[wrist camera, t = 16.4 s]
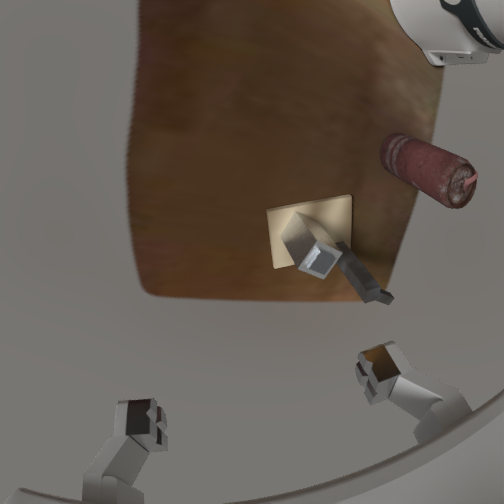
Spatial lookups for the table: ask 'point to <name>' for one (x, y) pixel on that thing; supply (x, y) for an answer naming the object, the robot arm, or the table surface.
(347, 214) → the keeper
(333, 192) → the table surface
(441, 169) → the can
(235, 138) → the table surface
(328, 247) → the grey square pillar
